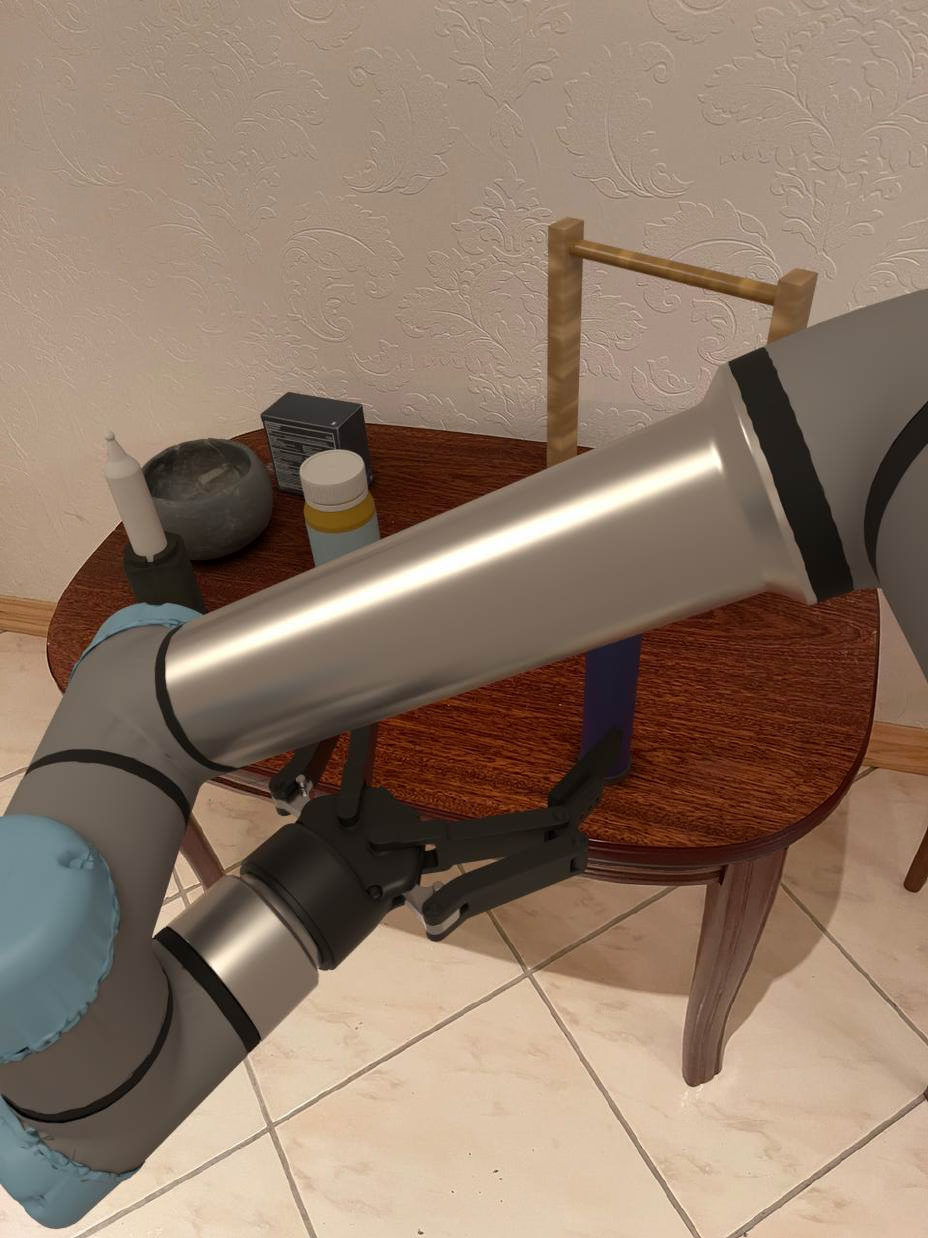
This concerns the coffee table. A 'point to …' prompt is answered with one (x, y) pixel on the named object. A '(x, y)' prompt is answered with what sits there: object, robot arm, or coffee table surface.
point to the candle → (149, 538)
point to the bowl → (210, 495)
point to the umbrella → (611, 698)
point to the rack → (571, 249)
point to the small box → (312, 434)
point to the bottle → (337, 505)
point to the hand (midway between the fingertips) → (530, 690)
